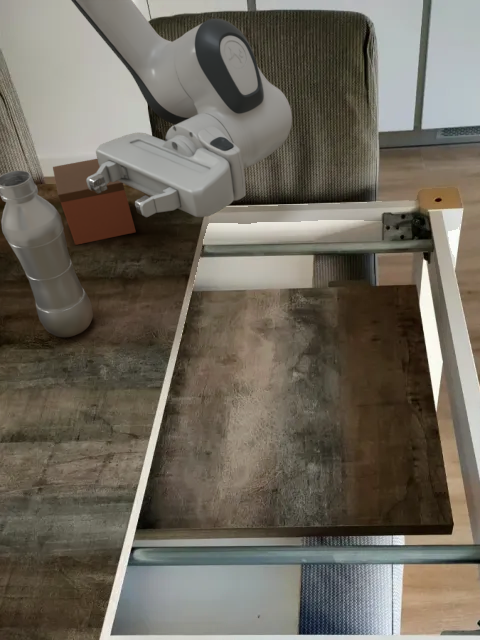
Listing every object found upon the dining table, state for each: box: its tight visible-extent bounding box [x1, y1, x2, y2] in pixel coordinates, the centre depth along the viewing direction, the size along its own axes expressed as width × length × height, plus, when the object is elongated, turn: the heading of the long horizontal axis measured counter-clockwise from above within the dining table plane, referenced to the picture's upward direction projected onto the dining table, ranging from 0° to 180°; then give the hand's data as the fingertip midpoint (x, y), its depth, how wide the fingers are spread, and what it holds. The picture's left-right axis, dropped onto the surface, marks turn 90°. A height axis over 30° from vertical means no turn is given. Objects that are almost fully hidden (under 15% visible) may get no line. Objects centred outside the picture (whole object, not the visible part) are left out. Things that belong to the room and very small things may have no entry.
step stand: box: [52, 158, 137, 246], centre depth 98 cm, size 9×9×8 cm
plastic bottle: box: [0, 169, 94, 338], centre depth 77 cm, size 6×7×20 cm
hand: (114, 197), depth 80 cm, fingers open, 8 cm apart
